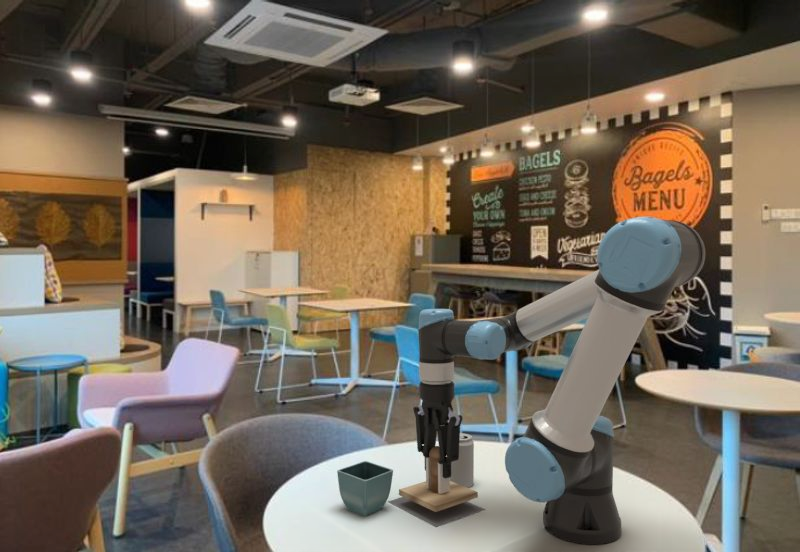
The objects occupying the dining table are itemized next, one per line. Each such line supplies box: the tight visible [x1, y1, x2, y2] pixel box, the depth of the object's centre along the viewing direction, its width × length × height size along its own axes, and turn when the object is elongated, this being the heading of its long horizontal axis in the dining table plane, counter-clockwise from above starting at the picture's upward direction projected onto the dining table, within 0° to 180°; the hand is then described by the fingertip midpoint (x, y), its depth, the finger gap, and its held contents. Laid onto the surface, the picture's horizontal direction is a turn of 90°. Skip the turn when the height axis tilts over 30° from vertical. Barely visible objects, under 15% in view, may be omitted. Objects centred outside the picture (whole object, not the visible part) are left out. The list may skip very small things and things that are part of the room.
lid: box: [398, 445, 479, 512], centre depth 131 cm, size 12×12×11 cm
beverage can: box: [450, 432, 475, 489], centre depth 144 cm, size 6×6×12 cm
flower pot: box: [336, 460, 394, 517], centre depth 130 cm, size 9×9×9 cm
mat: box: [387, 496, 486, 528], centre depth 132 cm, size 16×14×1 cm
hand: (437, 489), depth 131 cm, fingers closed on lid, 3 cm apart
